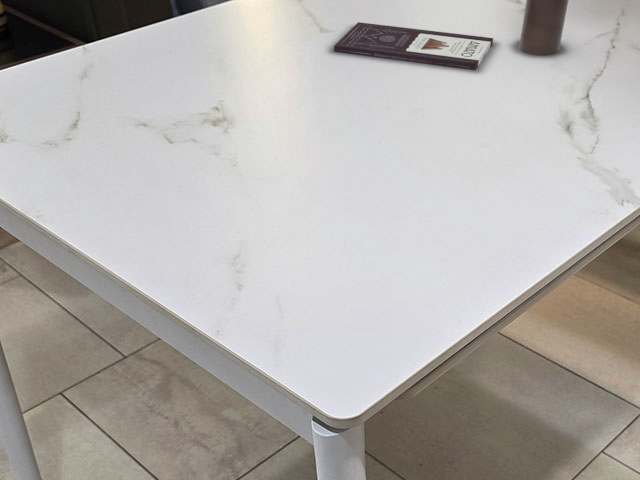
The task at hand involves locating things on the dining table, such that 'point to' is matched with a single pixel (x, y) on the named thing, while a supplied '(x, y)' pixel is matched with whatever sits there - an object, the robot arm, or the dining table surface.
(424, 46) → the chocolate bar
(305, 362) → the dining table surface
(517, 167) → the dining table surface
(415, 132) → the dining table surface
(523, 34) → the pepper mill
